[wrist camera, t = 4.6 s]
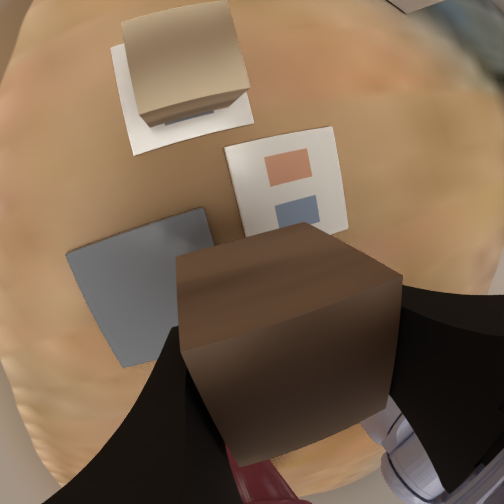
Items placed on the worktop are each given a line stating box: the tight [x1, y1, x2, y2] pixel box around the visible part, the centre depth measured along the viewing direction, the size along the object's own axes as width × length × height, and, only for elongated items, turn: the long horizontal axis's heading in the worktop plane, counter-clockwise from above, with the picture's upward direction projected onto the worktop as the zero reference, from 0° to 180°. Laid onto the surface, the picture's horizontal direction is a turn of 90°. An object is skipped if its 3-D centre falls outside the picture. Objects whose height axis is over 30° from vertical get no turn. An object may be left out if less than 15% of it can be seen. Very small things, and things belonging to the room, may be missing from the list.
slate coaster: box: [65, 206, 214, 368], centre depth 17 cm, size 9×9×1 cm
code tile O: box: [111, 43, 254, 156], centre depth 14 cm, size 7×7×1 cm
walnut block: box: [176, 222, 403, 467], centre depth 8 cm, size 4×4×5 cm
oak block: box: [121, 0, 251, 128], centre depth 11 cm, size 4×4×5 cm
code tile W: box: [224, 126, 348, 237], centre depth 18 cm, size 7×7×1 cm
